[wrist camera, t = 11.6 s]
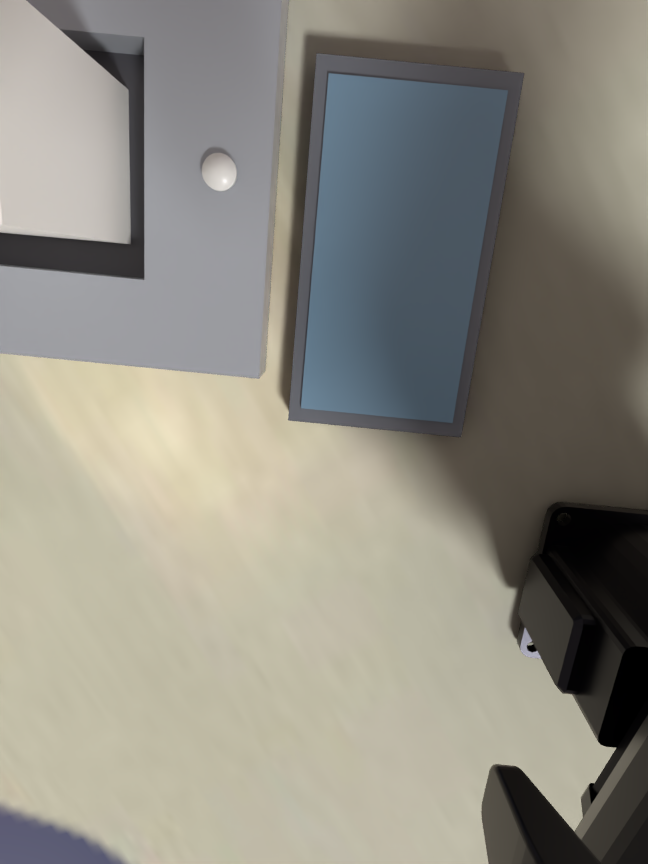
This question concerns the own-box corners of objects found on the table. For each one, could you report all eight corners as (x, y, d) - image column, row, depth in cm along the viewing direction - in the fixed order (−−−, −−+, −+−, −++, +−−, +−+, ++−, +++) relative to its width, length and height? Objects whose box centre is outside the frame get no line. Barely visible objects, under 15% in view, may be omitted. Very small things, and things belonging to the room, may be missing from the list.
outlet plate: (290, -39, 15) (284, -76, 14) (265, 370, 19) (258, 379, 17) (-190, -85, 16) (-252, -127, 14) (-129, 332, 19) (-174, 337, 17)
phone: (515, 82, 16) (525, 71, 15) (456, 430, 19) (461, 438, 18) (317, 63, 16) (316, 51, 15) (290, 414, 19) (287, 421, 18)
